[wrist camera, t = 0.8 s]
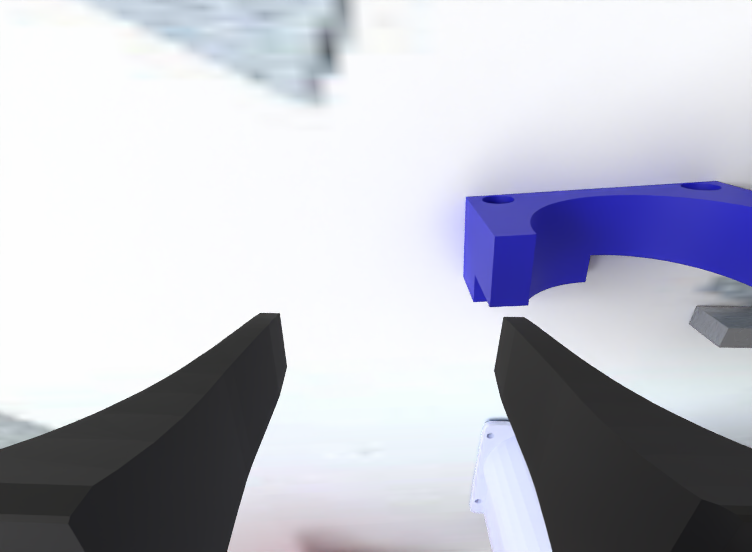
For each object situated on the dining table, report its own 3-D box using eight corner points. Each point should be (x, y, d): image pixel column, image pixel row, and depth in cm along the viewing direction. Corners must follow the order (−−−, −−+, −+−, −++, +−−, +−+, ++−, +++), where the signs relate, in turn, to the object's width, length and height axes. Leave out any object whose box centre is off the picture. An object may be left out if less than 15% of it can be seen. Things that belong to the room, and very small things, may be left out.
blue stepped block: (462, 275, 21) (487, 338, 16) (465, 196, 19) (494, 236, 14) (686, 264, 20) (793, 325, 15) (712, 180, 18) (847, 216, 13)
